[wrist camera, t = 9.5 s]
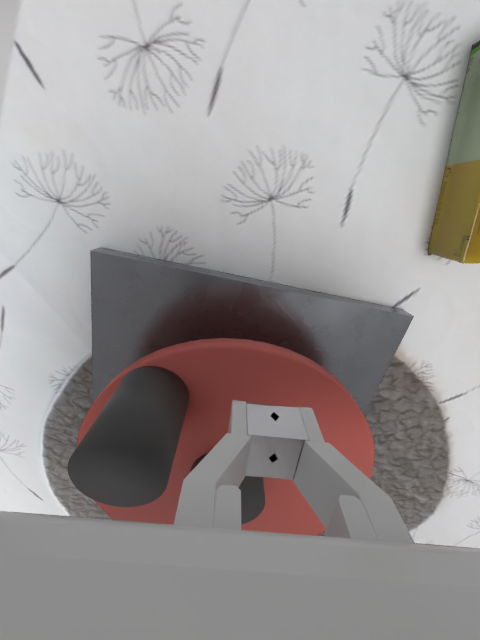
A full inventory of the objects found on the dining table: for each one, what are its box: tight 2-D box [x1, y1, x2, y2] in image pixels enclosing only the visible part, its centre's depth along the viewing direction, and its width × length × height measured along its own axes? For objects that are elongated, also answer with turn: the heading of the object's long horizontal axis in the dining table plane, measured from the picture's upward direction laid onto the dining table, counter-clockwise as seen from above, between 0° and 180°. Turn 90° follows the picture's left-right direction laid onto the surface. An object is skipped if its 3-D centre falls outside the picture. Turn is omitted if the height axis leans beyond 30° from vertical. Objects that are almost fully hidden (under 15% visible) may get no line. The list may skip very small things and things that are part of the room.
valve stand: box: [91, 248, 414, 415], centre depth 22 cm, size 24×24×6 cm
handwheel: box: [68, 338, 374, 536], centre depth 16 cm, size 20×20×6 cm
